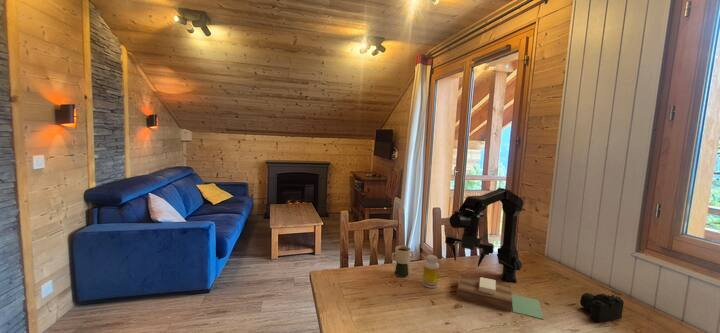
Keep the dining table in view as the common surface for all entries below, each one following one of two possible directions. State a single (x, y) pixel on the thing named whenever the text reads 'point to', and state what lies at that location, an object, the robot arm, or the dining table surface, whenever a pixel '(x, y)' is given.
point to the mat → (526, 306)
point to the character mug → (402, 260)
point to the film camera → (602, 307)
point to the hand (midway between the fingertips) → (466, 263)
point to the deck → (484, 294)
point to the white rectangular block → (487, 285)
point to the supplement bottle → (431, 272)
